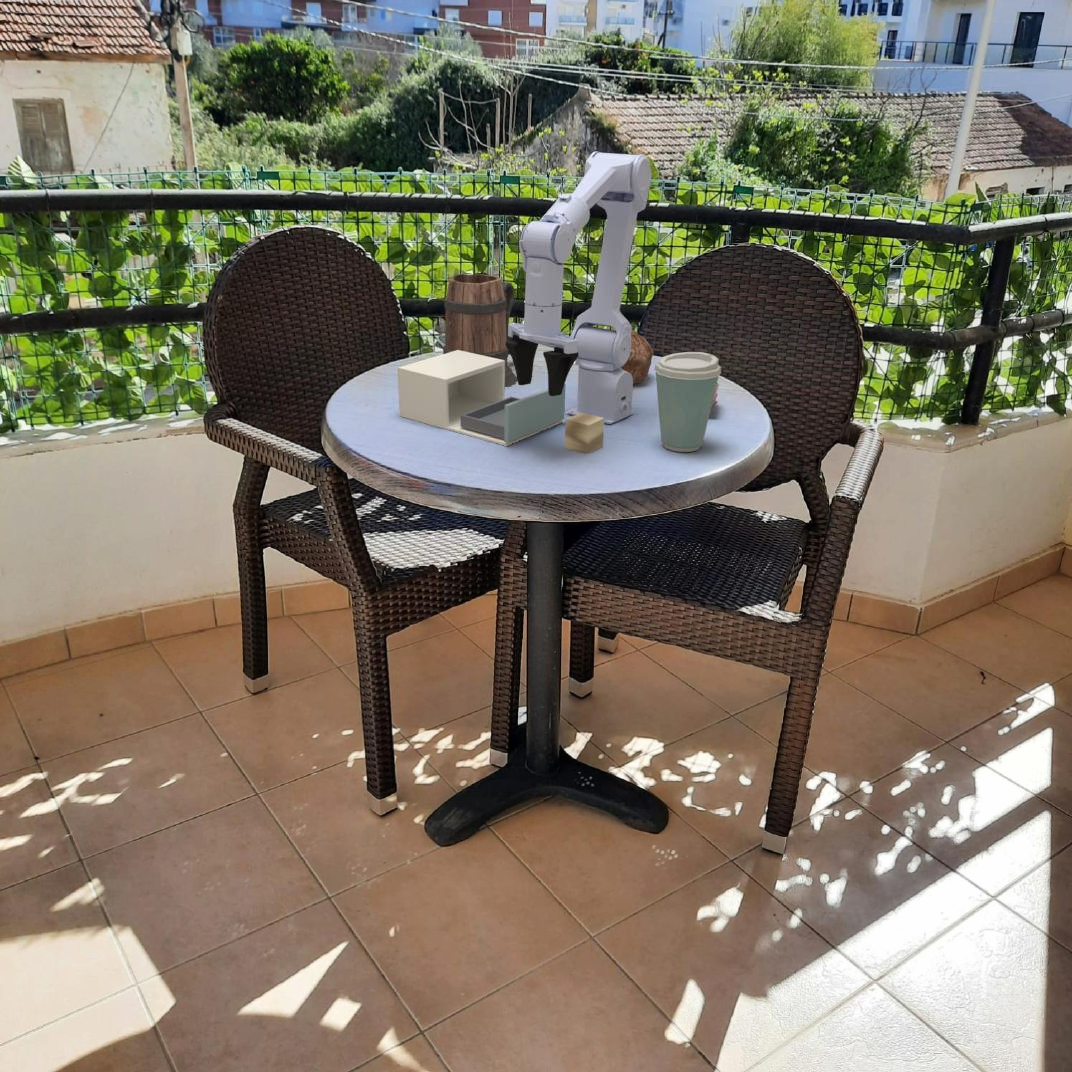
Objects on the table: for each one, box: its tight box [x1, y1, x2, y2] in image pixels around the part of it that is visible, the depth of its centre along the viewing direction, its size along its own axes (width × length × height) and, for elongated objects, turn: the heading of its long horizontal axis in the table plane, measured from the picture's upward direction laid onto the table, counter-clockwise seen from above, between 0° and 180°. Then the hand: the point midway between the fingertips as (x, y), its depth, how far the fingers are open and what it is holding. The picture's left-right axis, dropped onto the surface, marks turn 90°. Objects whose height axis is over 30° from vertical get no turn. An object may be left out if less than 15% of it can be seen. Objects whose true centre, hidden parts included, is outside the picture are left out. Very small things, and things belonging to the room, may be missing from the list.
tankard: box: [442, 273, 518, 388], centre depth 192 cm, size 24×17×20 cm
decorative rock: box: [620, 329, 654, 384], centre depth 194 cm, size 13×11×10 cm
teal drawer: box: [460, 384, 566, 443], centre depth 166 cm, size 11×16×6 cm
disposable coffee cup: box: [654, 351, 722, 453], centre depth 158 cm, size 11×11×15 cm
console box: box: [397, 350, 563, 447], centre depth 169 cm, size 24×16×9 cm, turn 53°
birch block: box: [564, 413, 605, 455], centre depth 158 cm, size 4×4×5 cm
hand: (539, 389), depth 154 cm, fingers open, 7 cm apart
